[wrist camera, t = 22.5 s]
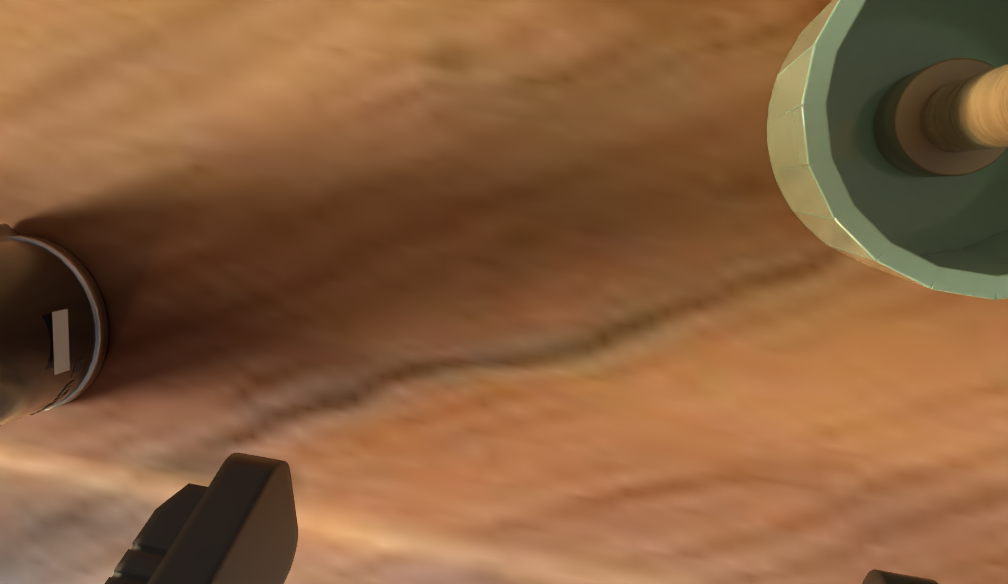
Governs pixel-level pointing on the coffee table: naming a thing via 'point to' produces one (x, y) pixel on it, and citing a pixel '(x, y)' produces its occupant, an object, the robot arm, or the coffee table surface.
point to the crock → (857, 159)
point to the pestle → (945, 119)
